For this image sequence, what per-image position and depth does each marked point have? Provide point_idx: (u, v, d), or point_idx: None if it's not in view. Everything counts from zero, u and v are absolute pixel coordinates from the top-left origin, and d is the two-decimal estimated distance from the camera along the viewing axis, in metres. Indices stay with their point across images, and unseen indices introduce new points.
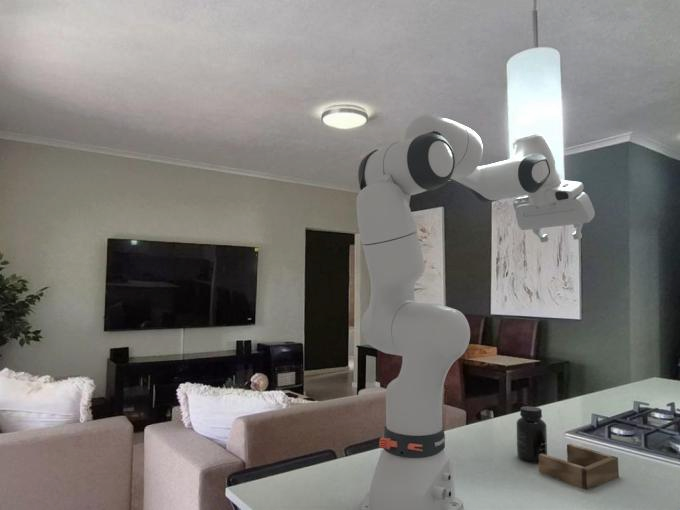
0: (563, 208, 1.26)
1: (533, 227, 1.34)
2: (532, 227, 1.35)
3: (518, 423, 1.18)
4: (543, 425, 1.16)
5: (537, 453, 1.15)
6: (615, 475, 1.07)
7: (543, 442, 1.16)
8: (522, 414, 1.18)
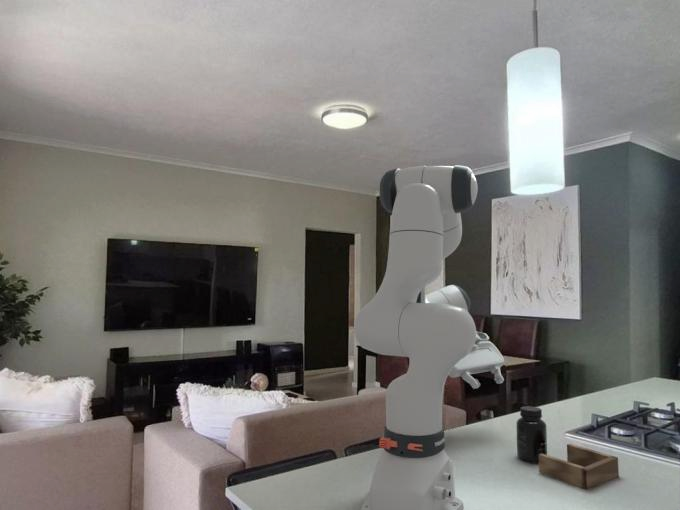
0: (482, 350, 1.37)
1: (467, 366, 1.29)
2: (466, 366, 1.28)
3: (518, 423, 1.18)
4: (543, 425, 1.16)
5: (537, 453, 1.15)
6: (615, 475, 1.07)
7: (543, 442, 1.16)
8: (522, 414, 1.18)
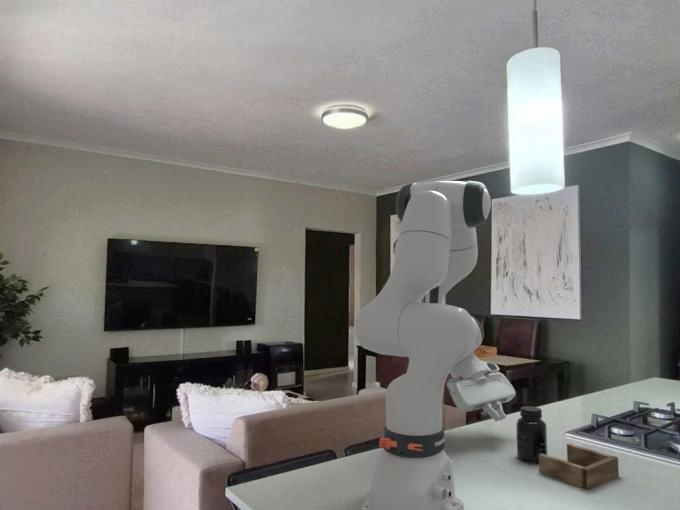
0: (493, 382, 1.34)
1: (478, 401, 1.25)
2: (478, 401, 1.25)
3: (518, 423, 1.18)
4: (543, 425, 1.16)
5: (537, 453, 1.15)
6: (615, 475, 1.07)
7: (543, 442, 1.16)
8: (522, 414, 1.18)
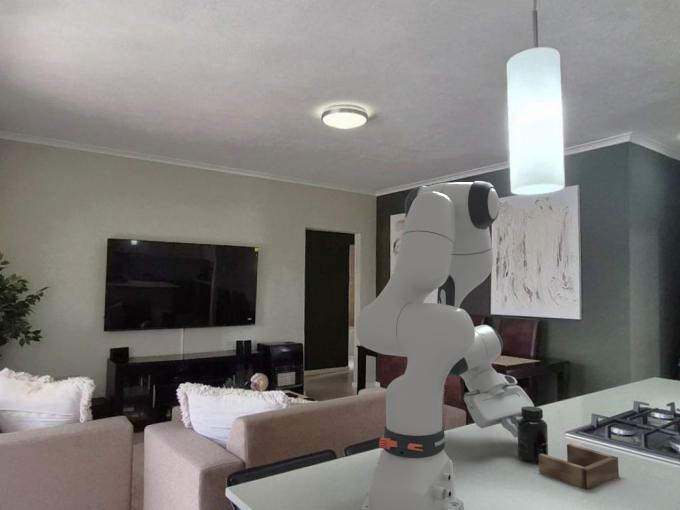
0: (511, 396, 1.29)
1: (497, 416, 1.20)
2: (496, 416, 1.20)
3: (519, 423, 1.18)
4: (544, 425, 1.16)
5: (538, 453, 1.15)
6: (615, 475, 1.07)
7: (544, 442, 1.15)
8: (523, 414, 1.18)
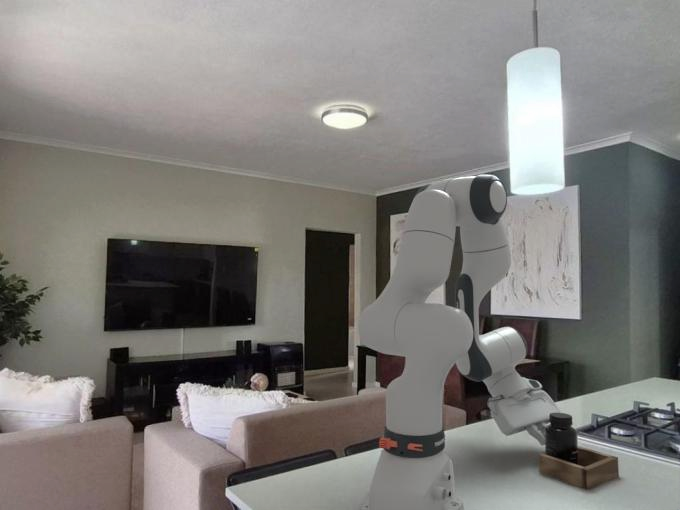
0: (536, 401, 1.23)
1: (523, 423, 1.14)
2: (523, 423, 1.14)
3: (547, 430, 1.12)
4: (574, 433, 1.10)
5: None
6: (615, 475, 1.07)
7: (574, 450, 1.09)
8: (551, 421, 1.12)
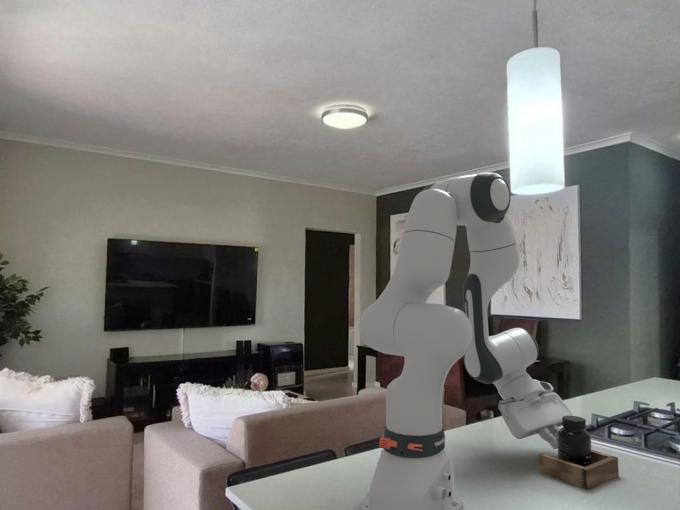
0: (548, 404, 1.20)
1: (535, 426, 1.12)
2: (535, 426, 1.11)
3: (560, 434, 1.10)
4: (588, 437, 1.07)
5: None
6: (615, 475, 1.07)
7: (588, 455, 1.07)
8: (564, 424, 1.09)
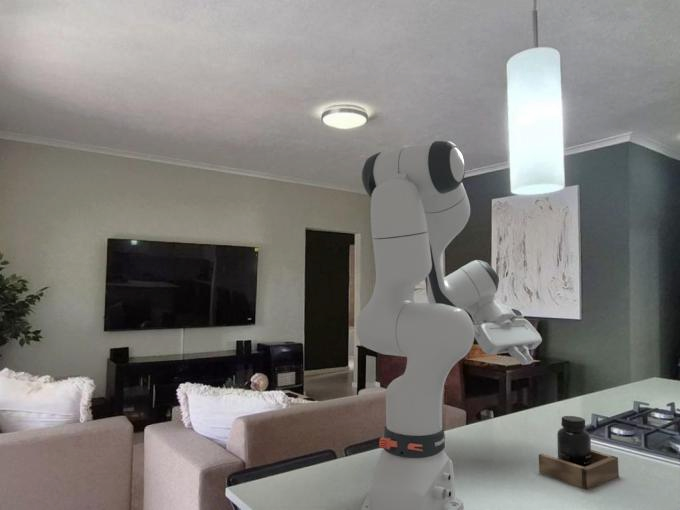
0: (518, 328, 1.27)
1: (504, 343, 1.19)
2: (504, 343, 1.19)
3: (560, 434, 1.10)
4: (587, 436, 1.08)
5: None
6: (615, 475, 1.07)
7: (587, 455, 1.07)
8: (564, 424, 1.10)
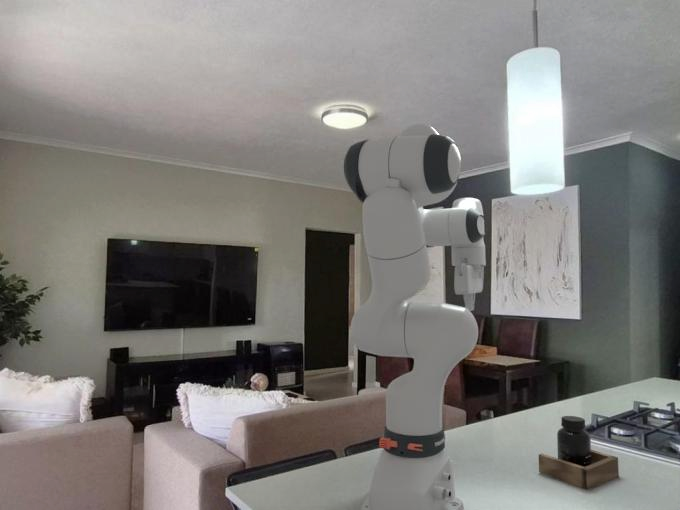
0: (477, 275, 1.35)
1: (471, 291, 1.26)
2: (471, 291, 1.25)
3: (559, 434, 1.10)
4: (587, 436, 1.08)
5: None
6: (615, 475, 1.07)
7: (587, 454, 1.07)
8: (564, 424, 1.10)
